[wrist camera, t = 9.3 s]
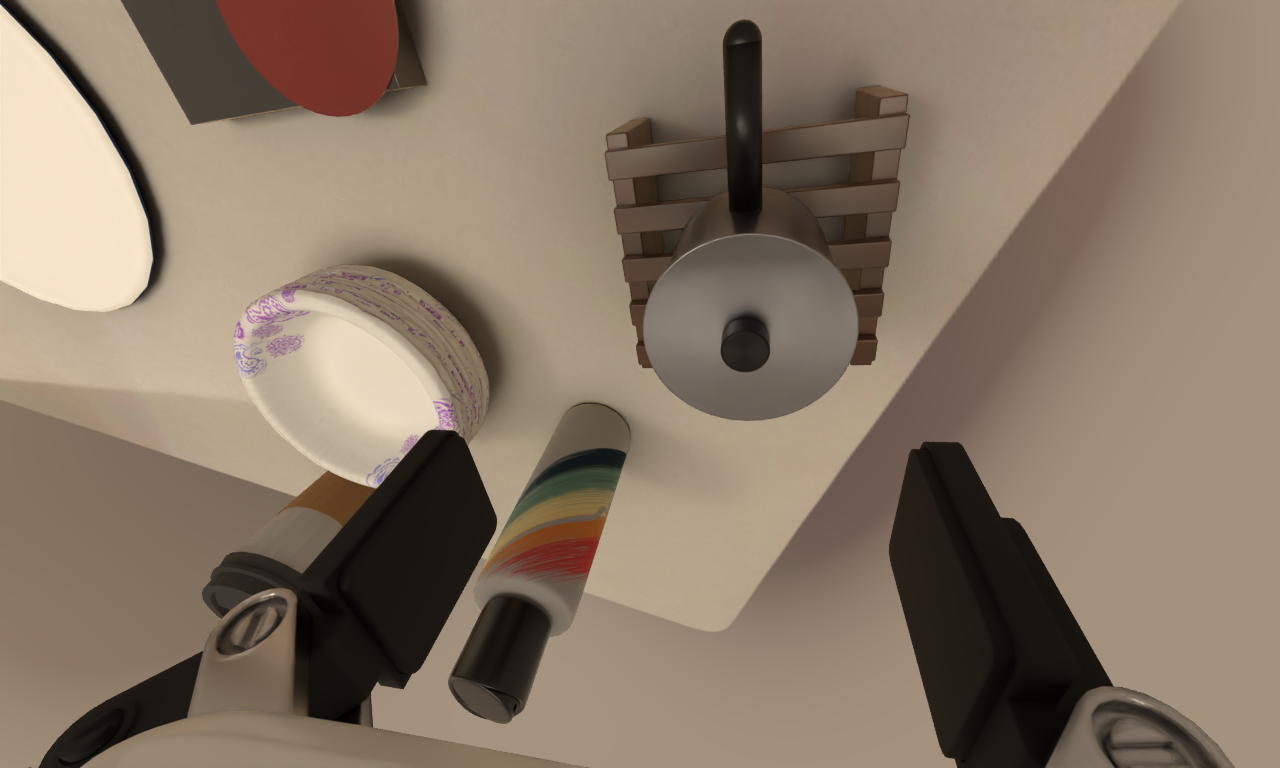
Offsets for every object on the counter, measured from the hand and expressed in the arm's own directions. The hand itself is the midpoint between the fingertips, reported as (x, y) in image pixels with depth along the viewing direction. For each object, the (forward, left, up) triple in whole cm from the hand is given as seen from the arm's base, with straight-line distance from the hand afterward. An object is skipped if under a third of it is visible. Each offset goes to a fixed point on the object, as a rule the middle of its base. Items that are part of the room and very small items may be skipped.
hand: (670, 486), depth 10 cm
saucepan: (-2, +1, -15) cm, 15 cm away
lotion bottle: (+16, -11, -21) cm, 28 cm away
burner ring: (-12, -19, -18) cm, 29 cm away
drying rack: (+1, +1, -21) cm, 21 cm away
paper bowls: (+8, -24, -21) cm, 33 cm away
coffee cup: (+21, -33, -21) cm, 44 cm away
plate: (-9, -51, -21) cm, 56 cm away
